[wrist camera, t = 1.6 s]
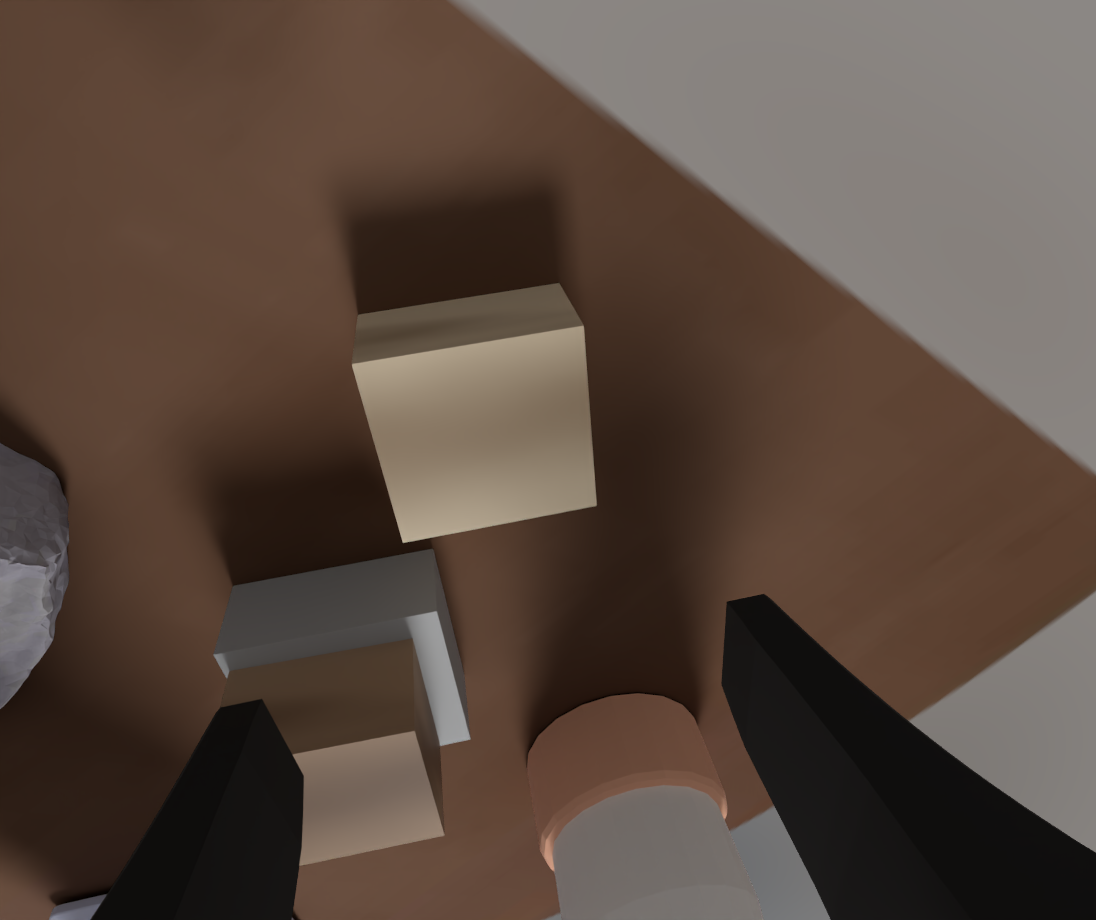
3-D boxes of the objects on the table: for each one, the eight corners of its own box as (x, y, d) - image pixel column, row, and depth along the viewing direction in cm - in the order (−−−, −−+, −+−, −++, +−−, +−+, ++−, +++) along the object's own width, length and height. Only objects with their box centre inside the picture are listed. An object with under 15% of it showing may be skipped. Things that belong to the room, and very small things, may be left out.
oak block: (572, 444, 20) (596, 505, 18) (402, 475, 20) (402, 542, 17) (557, 279, 17) (583, 325, 15) (358, 311, 17) (351, 364, 15)
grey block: (463, 666, 25) (470, 739, 22) (294, 700, 24) (282, 779, 22) (432, 541, 21) (436, 611, 19) (235, 577, 21) (213, 654, 18)
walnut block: (439, 742, 22) (444, 835, 20) (280, 773, 22) (265, 872, 19) (412, 637, 19) (414, 731, 17) (229, 670, 19) (203, 771, 16)
